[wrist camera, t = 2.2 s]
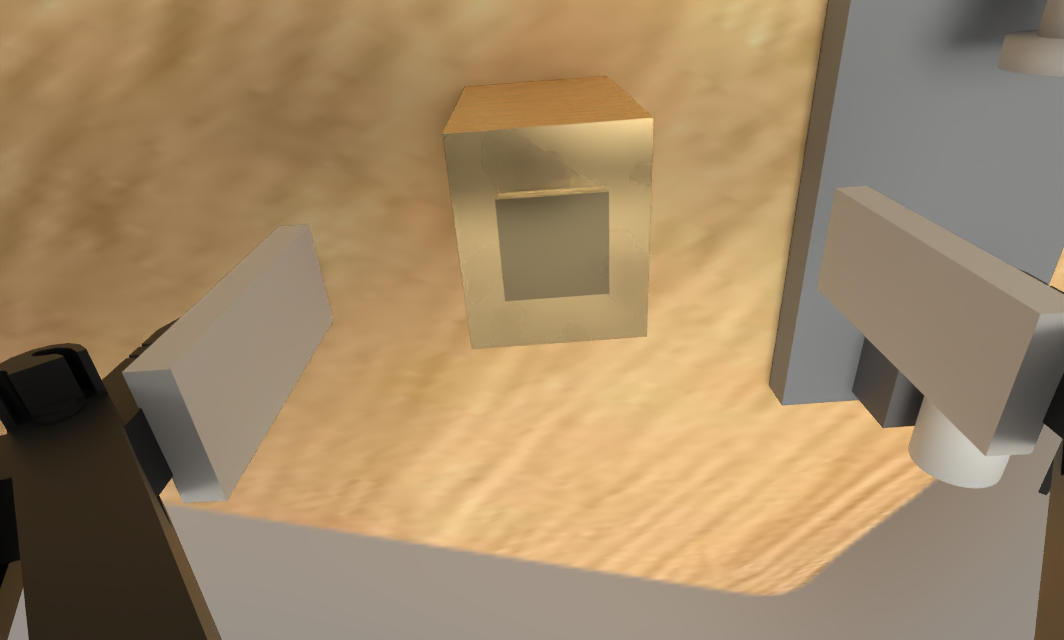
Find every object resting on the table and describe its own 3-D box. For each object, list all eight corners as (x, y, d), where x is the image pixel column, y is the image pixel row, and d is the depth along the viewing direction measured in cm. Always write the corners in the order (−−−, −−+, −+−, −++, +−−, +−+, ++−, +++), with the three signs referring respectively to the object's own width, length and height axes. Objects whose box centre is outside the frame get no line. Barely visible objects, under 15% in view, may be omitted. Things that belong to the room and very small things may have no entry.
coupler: (483, 244, 24) (471, 354, 17) (465, 86, 21) (441, 136, 14) (607, 235, 24) (648, 341, 17) (606, 76, 21) (656, 119, 14)
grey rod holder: (769, 385, 28) (852, 512, 21) (852, -155, 18) (1056, -244, 11) (984, 370, 28) (1136, 492, 21) (1184, -182, 18) (1589, -286, 11)
